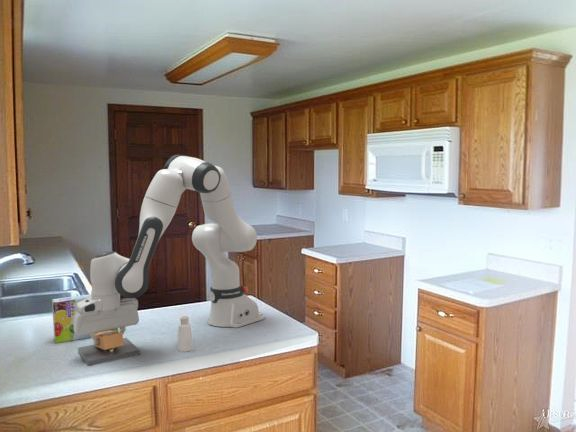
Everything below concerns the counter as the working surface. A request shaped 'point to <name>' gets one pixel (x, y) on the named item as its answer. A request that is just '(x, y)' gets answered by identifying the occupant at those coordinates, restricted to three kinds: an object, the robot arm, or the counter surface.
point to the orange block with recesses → (109, 340)
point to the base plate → (107, 353)
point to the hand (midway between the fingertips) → (108, 342)
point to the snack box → (67, 318)
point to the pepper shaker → (185, 335)
